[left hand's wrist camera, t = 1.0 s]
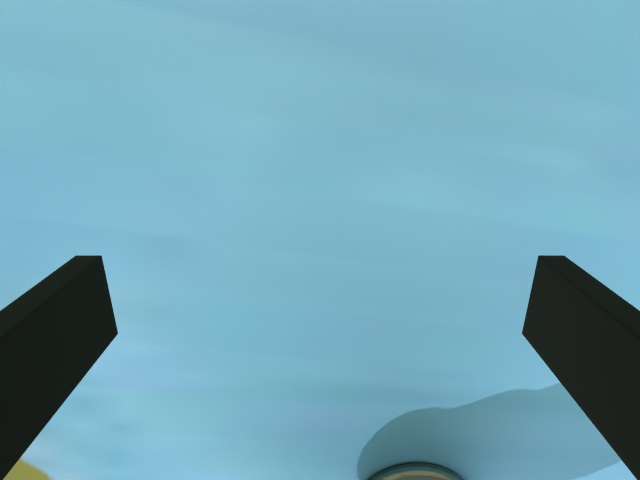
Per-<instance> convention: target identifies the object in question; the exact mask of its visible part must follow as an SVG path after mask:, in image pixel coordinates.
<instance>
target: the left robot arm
mask: <svg viewBox="0 0 640 480" xmlns="http://www.w3.org/2000/svg"><path fill="white" fill-rule="evenodd" d="M117 334H118V332H117V327H116V322H115V317H114V313H113V308H112V303H111V298H110V294H109V289H108V284H107V279H106V275H105V270H104V265H103V261H102V256H75V257H73V258H72V259H71V260H69V261H68V262H67V263H65V264H64V265H63V266H61V267H60V268H58V269H57V270H56V271H54V272H53V273H52V274H50V275H49V276H48V277H46V278H45V279H43V280H42V281H41V282H39V283H38V284H37V285H35V286H34V287H33V288H31V289H30V290H28V291H27V292H26V293H24V294H23V295H22V296H20V297H19V298H17V299H16V300H15V301H13V302H12V303H11V304H9V305H8V306H7V307H5V308H4V309H2V310H1V311H0V480H3V479H4V477H5V476H6V475H7V474H8V472H9V471H10V470H11V469H12V467H13V466H14V465H15V463H16V462H17V461H18V460H19V458H20V457H21V456H22V455H23V453H24V452H25V451H26V450H27V448H28V447H29V446H30V444H31V443H32V442H33V441H34V439H35V438H36V437H37V436H38V434H39V433H40V432H41V430H42V429H43V428H44V427H45V425H46V424H47V423H48V422H49V420H50V419H51V418H52V417H53V415H54V414H55V413H56V411H57V410H58V409H59V408H60V406H61V405H62V404H63V403H64V401H65V400H66V399H67V397H68V396H69V395H70V394H71V392H72V391H73V390H74V389H75V387H76V386H77V385H78V384H79V382H80V381H81V380H82V378H83V377H84V376H85V375H86V373H87V372H88V371H89V370H90V368H91V367H92V366H93V364H94V363H95V362H96V361H97V359H98V358H99V357H100V356H101V354H102V353H103V352H104V350H105V349H106V348H107V347H108V345H109V344H110V343H111V342H112V340H113V339H114V338H115V337H116V335H117ZM522 334H523V335H524V337H525V338H526V339H527V340H528V342H529V343H530V344H531V345H532V347H533V348H534V349H535V350H536V352H537V353H538V354H539V356H540V357H541V358H542V359H543V361H544V362H545V363H546V364H547V366H548V367H549V368H550V370H551V371H552V372H553V373H554V375H555V376H556V377H557V378H558V380H559V381H560V382H561V384H562V385H563V386H564V387H565V389H566V390H567V391H568V392H569V394H570V395H571V396H572V397H573V399H574V400H575V401H576V403H577V404H578V405H579V406H580V408H581V409H582V410H583V411H584V413H585V414H586V415H587V417H588V418H589V419H590V420H591V422H592V423H593V424H594V425H595V427H596V428H597V429H598V430H599V432H600V433H601V434H602V436H603V437H604V438H605V439H606V441H607V442H608V443H609V444H610V446H611V447H612V448H613V450H614V451H615V452H616V453H617V455H618V456H619V457H620V458H621V460H622V461H623V462H624V463H625V465H626V466H627V467H628V469H629V470H630V471H631V472H632V474H633V475H634V476H635V477H636V479H637V480H640V311H639V310H638V309H636V308H635V307H633V306H632V305H631V304H629V303H628V302H627V301H625V300H624V299H623V298H621V297H620V296H618V295H617V294H616V293H614V292H613V291H612V290H610V289H609V288H607V287H606V286H605V285H603V284H602V283H601V282H599V281H598V280H597V279H595V278H594V277H592V276H591V275H590V274H588V273H587V272H586V271H584V270H583V269H582V268H580V267H579V266H577V265H576V264H575V263H573V262H572V261H571V260H569V259H568V258H567V257H565V256H538V261H537V265H536V270H535V275H534V279H533V284H532V289H531V294H530V298H529V303H528V308H527V313H526V317H525V322H524V327H523V332H522ZM369 480H462V479H461V478H460V477H459V476H458V475H457V474H455V473H454V472H452V471H450V470H448V469H446V468H444V467H441V466H437V465H433V464H426V463H409V464H402V465H398V466H394V467H391V468H388V469H385V470H383V471H381V472H379V473H378V474H376V475H374V476H373V477H372V478H370V479H369Z"/></svg>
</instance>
